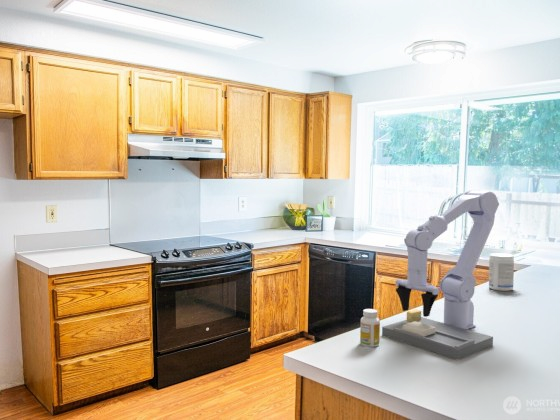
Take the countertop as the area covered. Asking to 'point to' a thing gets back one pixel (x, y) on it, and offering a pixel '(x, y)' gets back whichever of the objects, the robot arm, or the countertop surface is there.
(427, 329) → the cover
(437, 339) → the grey slotted tray
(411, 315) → the gold metal block
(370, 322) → the supplement bottle
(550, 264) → the countertop surface
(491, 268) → the supplement tub
